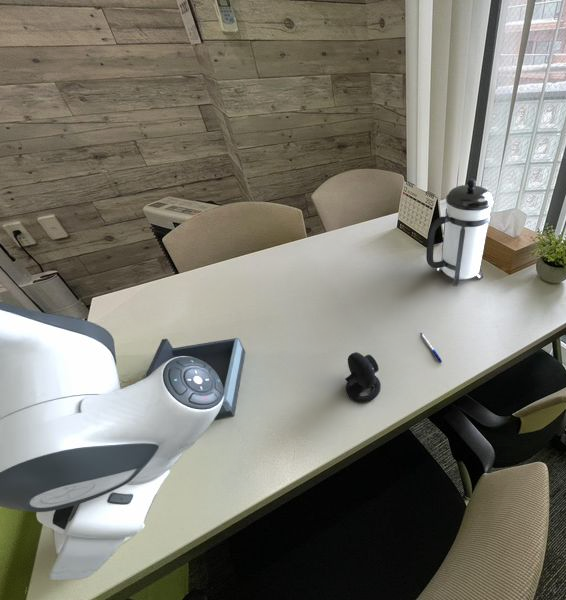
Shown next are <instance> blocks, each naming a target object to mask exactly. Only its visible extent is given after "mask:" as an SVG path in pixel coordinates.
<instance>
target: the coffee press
mask: <svg viewBox="0 0 566 600" xmlns="http://www.w3.org/2000/svg"><path fill="white" fill-rule="evenodd" d="M445 203H446V208H445V212H444V216H440V217H437V218H436V219H434V221H432V223H431V224H430V226H429V228H428V231H427V237H426V238H427V239H426V251H425V253H426V255H425V256H426V257H425V259H426V263H427V265H428V266H429V267H430V268H432V269H436V271H438V272H441V271H442V272H444V274H446V275H447V276H448V277H450V278H452V279H453V283H452V285H453V287H458V286H459V282H460V280H468V279H472V278H474V277H477V278H478V279H479V280H482V279H483V278H484V272H483V270H482V265H483V259H484V253H485V248H486V242H487V238H488V237H487V235H488V230H489V225H490V220H491V215H492V214H491V209H492V206H493V204H494V198H493V196H492V193H491V192H490V191H489V190H488V189H487V188H485V187H483V186H481V185H477V181H476V180H475V179H474V178H470V179H469V180H467V183H466V184H462V185H457V186H455V187H453V188H452V189H451V190H450V191H449V192H448V194H447V195H446V197H445ZM442 225H443V236H442V246H441V257H440V261H434V250H435V249H434V248H435V237H436V231H437V229H438V228H439V227H440V226H442ZM479 273H480V274H479Z"/></svg>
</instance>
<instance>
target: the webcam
mask: <svg viewBox="0 0 566 600" xmlns="http://www.w3.org/2000/svg"><path fill="white" fill-rule="evenodd" d="M347 366H348V370H349V372H350V374H349V375H348V376H347V377H345V381H346V384H345V393H346V395H347V397H348V398H349V399H350V400H351V401H353V402H355V403H359V404H365V403H369V402H371V401H373V400H375V399H376V398H377V397H378V396H379V394H380V392H381V387H382V386H381V385H382V384H381V381H380V379H379V378H378V377H377V376H376V373H378V372H379V365H378V363H377V361H376V359H375V358H374V357H373V356H372V355H371V354H366V355H365V356H364V355H363V354H361V353H360V352H357V351H356V352H352V353H350V354H349V355H348V356H347ZM372 387H373V389H372V391H371V392H370V393H368V394H365V395H361V394H362V393H363V392H364V391H366V390H367V389H370V388H372Z"/></svg>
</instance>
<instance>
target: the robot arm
mask: <svg viewBox="0 0 566 600" xmlns="http://www.w3.org/2000/svg"><path fill="white" fill-rule="evenodd" d="M115 347H116V346H115V340H114V337H113V335H112V334H111V333H110V331H108V330H107V329H106V328H105V327H103V326H101V325H99V324H97V323H95V322H92V321H89V320H86V319H82V318H78V317H74V316H70V315H62V314H54V313H49V312H48V313H47V312H41V311H36V310H32V309H28V308H24V307H21V306H17V305H14V304H10V303H7V302H4V301H0V507H1V508H4V509H7V510H8V509H9V510H15V511H20V512H21V511H22V512H31V513H37V512H48V511H54V510H58V509H62V508H66V507H70V506H74V507H73V510H72V512H71V515H70V517H69V519H68V523H67V526H66V528H65V530H64V533H65V535H67V537H66V539H65V542H64V544H63V546H62V548H61V550H60V552H59V554H57V556H56V559H55V560H54V563H53V565H52V566H51V568H50V571H49V579H50V580H54V581H75V580H83V579H84V580H85V579H88V578H89V577H91V576H92V575H94V574H95V573H96V572H98V571H99V569H100V568H102V567H103V566H104V564H106V563H107V562H108V561H109V560H110V559H111V558H112V557H113V556H114V554H115V553H116V552H117V551H118V550H119V548H120V546H121V545H123V544H122V542H123V541H124V539H125V537H131V538H133V537H134V536H135V535H137V534H138V533H139V532H140V531H139V530H140V528H141V526H142V524H143V522H144V521H145V520H146V518H147V516H148V514H149V511H150V509H151V506H152V505H153V502H154V501H155V498H156V496H157V493H158V491H159V490H160V488H161V486H162V485H163V483H164V482H165V480H166V479H167V477H168V476H169V475H170V473H171V468H172V467H174V465H175V464H176V463H177V462H178V461H179V460H180V459H181V458H182V455H183V454H184V452H186V451H187V450H188V449H190V448H191V447H192V446H193V445H194V444H195V443H196V442H197V441H198V440H199V439H200V438H201V436H202V435H203V434H204V433H205V432H206V431H207V429H208V428H209V427H210V426H211V425H212V423H213V422H214V421H215V420H214V419H215V417H216V416H217V414H218V412H219V411H220V408H221V406H222V403H223V400H224V388H223V385H222V382H221V380H220V378H219V376H218V374H217V373H216V372H215V370H214V369H213V368H212V367H211V366H209V365H208V364H207V363H205V362H203V361H201V360H199V359H197V358H193V357H188V356H180V357H175V358H172V359H170V360H168V361H167V362H165V363H163V364H162V365H161V366H160V367H158V368H157V369H156V370H155V371H154V372H153V373H151V374H150V375H149V376H148V377H146V378H145V379H144V378H143V379H141V380H139V381H136V382H134V383H132V384H130V385H128V386H125V387H121V383H120V380H119V379H120V378H119V373H118V370H117V357H116V350H115V349H116V348H115ZM144 523H145V522H144ZM138 531H139V532H138ZM137 532H138V533H137ZM136 533H137V534H136Z"/></svg>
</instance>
